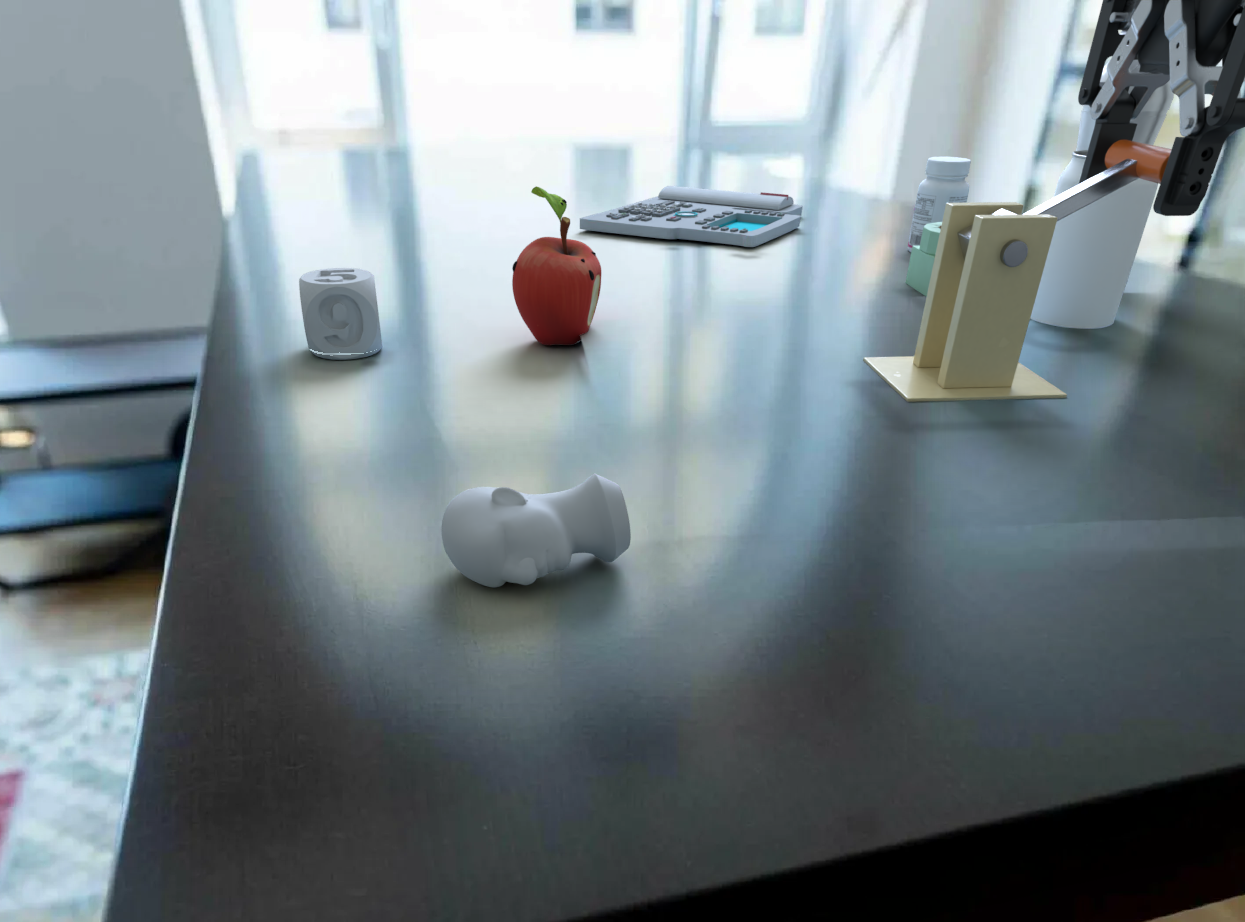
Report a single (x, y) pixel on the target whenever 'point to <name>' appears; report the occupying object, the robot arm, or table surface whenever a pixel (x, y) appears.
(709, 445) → the table surface
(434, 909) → the table surface
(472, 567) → the white mannequin head
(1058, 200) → the switch lever
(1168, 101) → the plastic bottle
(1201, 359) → the table surface
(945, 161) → the pill bottle
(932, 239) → the button block
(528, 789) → the table surface
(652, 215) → the office telephone
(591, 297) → the apple
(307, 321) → the die
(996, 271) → the switch bracket
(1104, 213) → the can
